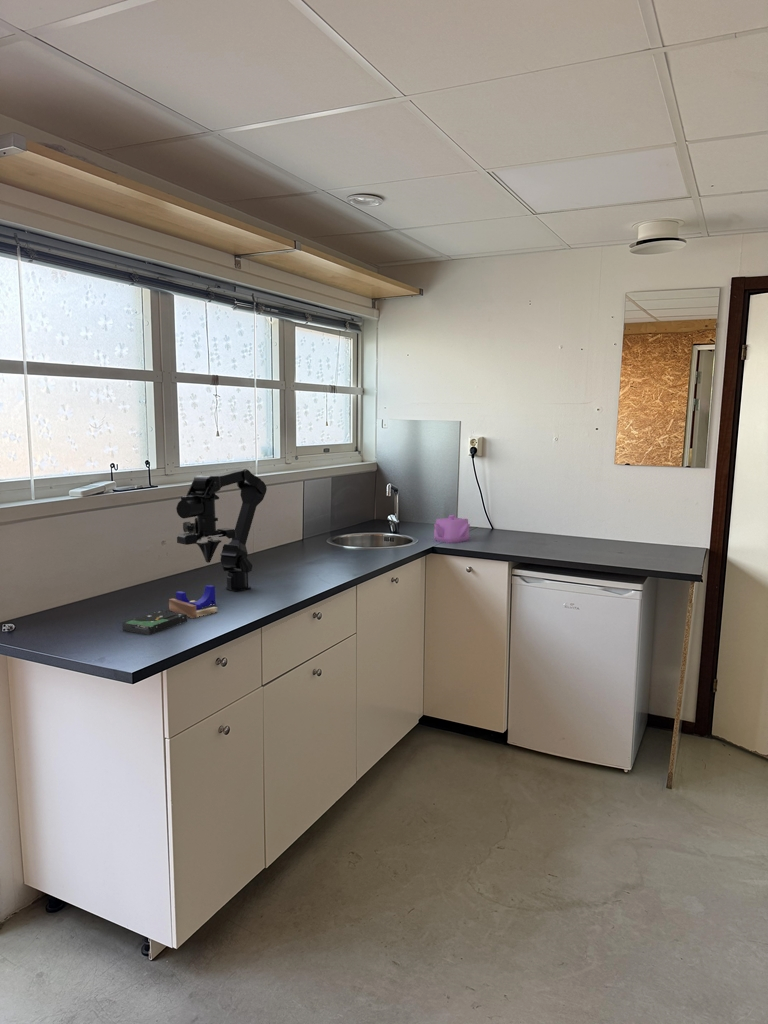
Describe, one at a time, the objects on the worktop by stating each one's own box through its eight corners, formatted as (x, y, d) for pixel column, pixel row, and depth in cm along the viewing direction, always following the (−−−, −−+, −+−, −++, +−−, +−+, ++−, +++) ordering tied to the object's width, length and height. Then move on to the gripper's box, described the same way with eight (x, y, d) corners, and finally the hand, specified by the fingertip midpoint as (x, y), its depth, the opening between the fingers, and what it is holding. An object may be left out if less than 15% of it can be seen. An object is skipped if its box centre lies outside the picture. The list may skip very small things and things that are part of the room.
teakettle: (468, 537, 343) (468, 512, 342) (470, 543, 326) (470, 517, 325) (433, 537, 344) (433, 512, 343) (433, 543, 327) (433, 517, 326)
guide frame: (193, 604, 219) (193, 594, 219) (217, 612, 211) (216, 601, 210) (169, 610, 213) (168, 599, 213) (192, 618, 205) (191, 606, 204)
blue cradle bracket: (185, 613, 210) (184, 594, 210) (176, 611, 213) (175, 592, 213) (218, 605, 219) (217, 587, 218) (210, 603, 222) (209, 585, 221)
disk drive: (161, 618, 207) (121, 631, 194) (160, 609, 206) (121, 621, 193) (187, 623, 202) (149, 636, 189) (187, 613, 202) (149, 626, 189)
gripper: (217, 509, 236) (218, 555, 238) (166, 515, 223) (169, 563, 225) (236, 512, 229) (237, 559, 231) (185, 518, 215) (187, 568, 217)
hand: (208, 562), depth 226 cm, fingers closed
